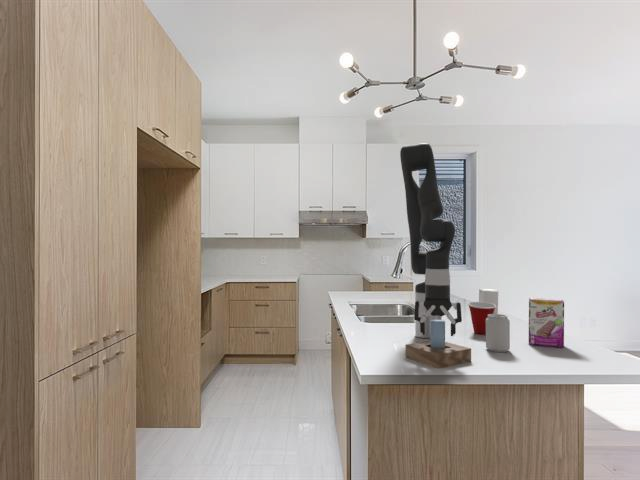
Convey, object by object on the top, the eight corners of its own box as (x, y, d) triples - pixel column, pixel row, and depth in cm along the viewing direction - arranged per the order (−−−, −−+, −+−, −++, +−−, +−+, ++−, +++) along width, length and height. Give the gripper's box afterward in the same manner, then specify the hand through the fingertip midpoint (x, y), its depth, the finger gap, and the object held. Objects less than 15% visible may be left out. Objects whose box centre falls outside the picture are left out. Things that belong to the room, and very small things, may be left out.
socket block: (437, 351, 142) (437, 339, 142) (471, 361, 130) (471, 348, 130) (405, 357, 135) (405, 344, 135) (438, 368, 123) (438, 354, 123)
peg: (437, 356, 135) (437, 319, 136) (448, 360, 132) (448, 321, 132) (427, 358, 133) (427, 320, 133) (438, 362, 129) (437, 322, 130)
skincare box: (478, 322, 195) (478, 288, 196) (493, 322, 195) (492, 288, 195) (483, 325, 187) (483, 290, 187) (498, 325, 186) (498, 290, 187)
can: (508, 348, 146) (508, 313, 146) (510, 353, 139) (510, 317, 139) (485, 346, 149) (485, 312, 149) (486, 352, 141) (486, 316, 142)
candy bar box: (528, 345, 151) (528, 299, 151) (528, 342, 155) (528, 297, 156) (564, 348, 146) (564, 300, 146) (563, 345, 151) (563, 299, 151)
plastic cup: (475, 336, 165) (475, 305, 165) (463, 330, 176) (463, 301, 176) (501, 335, 166) (501, 305, 166) (488, 330, 177) (488, 301, 177)
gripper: (460, 282, 135) (460, 333, 134) (414, 281, 138) (414, 331, 138) (462, 284, 127) (462, 338, 127) (413, 283, 131) (413, 336, 131)
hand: (437, 334), depth 133 cm, fingers open, 8 cm apart
